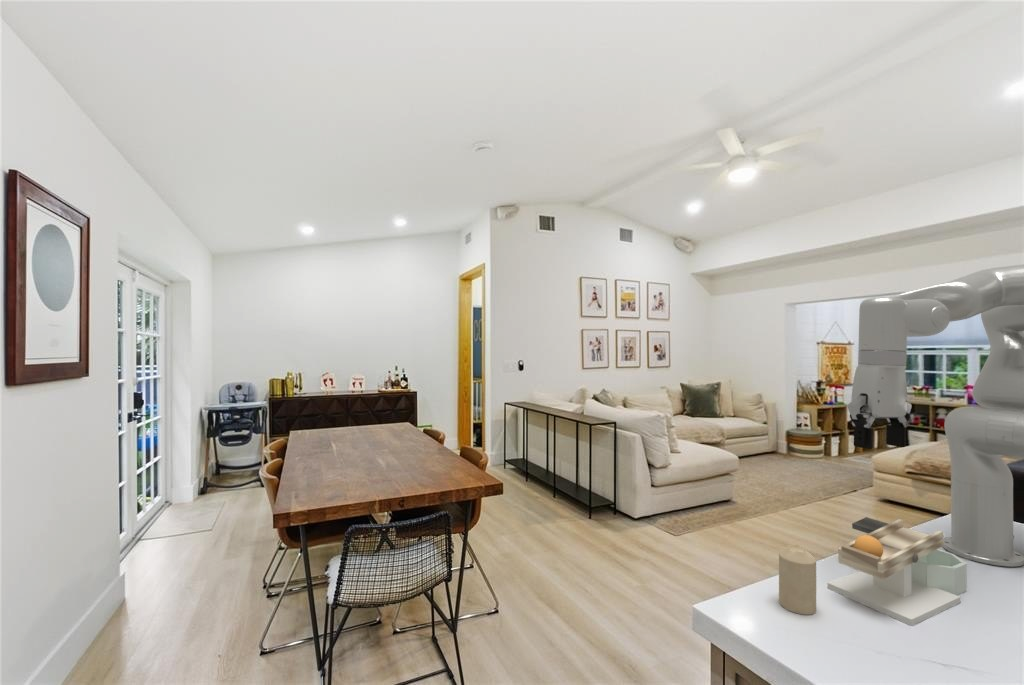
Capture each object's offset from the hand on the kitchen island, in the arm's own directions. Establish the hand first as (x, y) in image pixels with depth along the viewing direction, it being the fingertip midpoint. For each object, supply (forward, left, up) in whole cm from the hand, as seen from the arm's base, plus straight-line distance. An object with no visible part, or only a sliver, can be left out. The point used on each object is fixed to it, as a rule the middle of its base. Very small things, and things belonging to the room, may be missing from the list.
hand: (879, 446), depth 93 cm
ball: (+14, +5, -15) cm, 22 cm away
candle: (+26, 0, -25) cm, 36 cm away
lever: (+7, +3, -18) cm, 19 cm away
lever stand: (+7, +5, -25) cm, 27 cm away
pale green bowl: (-5, +5, -25) cm, 26 cm away
